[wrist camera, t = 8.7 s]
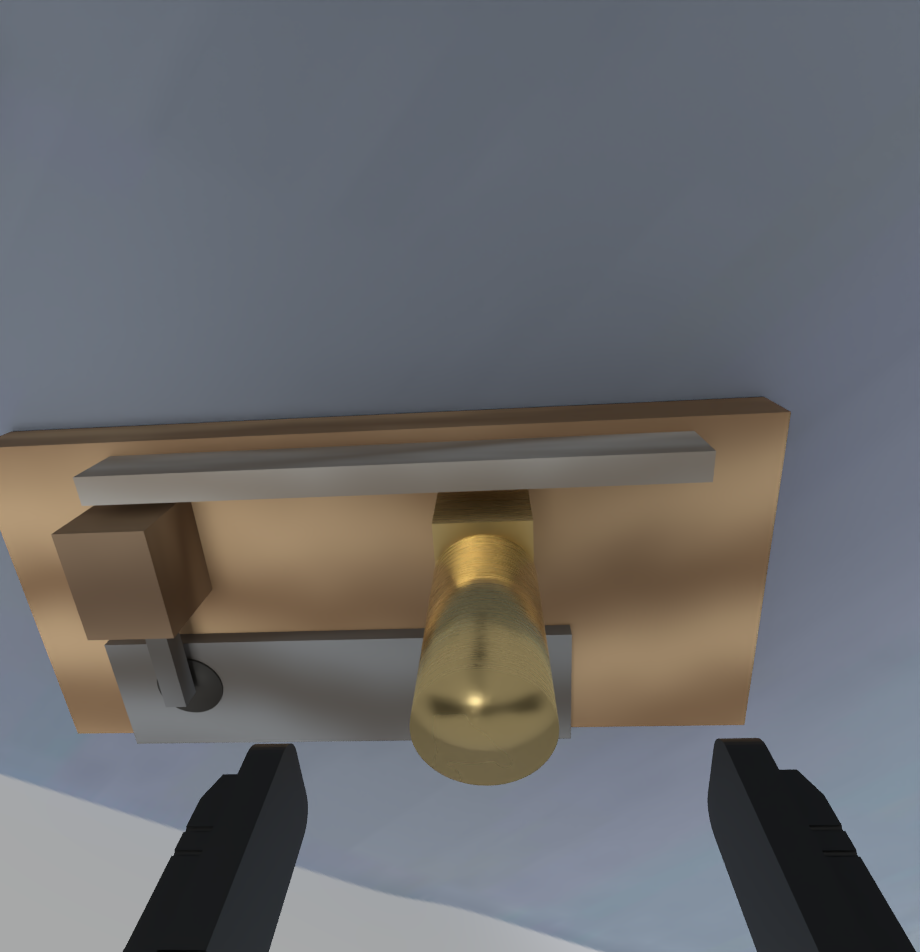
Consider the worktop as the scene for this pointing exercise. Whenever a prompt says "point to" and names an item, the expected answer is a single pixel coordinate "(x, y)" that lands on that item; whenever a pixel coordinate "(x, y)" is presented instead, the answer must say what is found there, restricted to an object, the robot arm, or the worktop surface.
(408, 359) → the worktop surface
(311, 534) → the board
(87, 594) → the brown block with stem
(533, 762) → the gold l-shaped piece
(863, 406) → the worktop surface
